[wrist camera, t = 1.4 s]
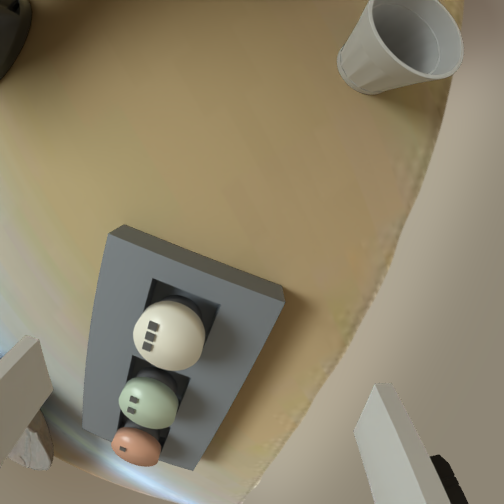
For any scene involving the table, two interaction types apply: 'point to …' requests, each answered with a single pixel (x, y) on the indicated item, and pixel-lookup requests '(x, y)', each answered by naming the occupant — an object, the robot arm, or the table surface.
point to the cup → (400, 46)
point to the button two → (150, 398)
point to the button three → (170, 333)
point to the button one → (137, 444)
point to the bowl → (34, 445)
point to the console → (214, 349)
